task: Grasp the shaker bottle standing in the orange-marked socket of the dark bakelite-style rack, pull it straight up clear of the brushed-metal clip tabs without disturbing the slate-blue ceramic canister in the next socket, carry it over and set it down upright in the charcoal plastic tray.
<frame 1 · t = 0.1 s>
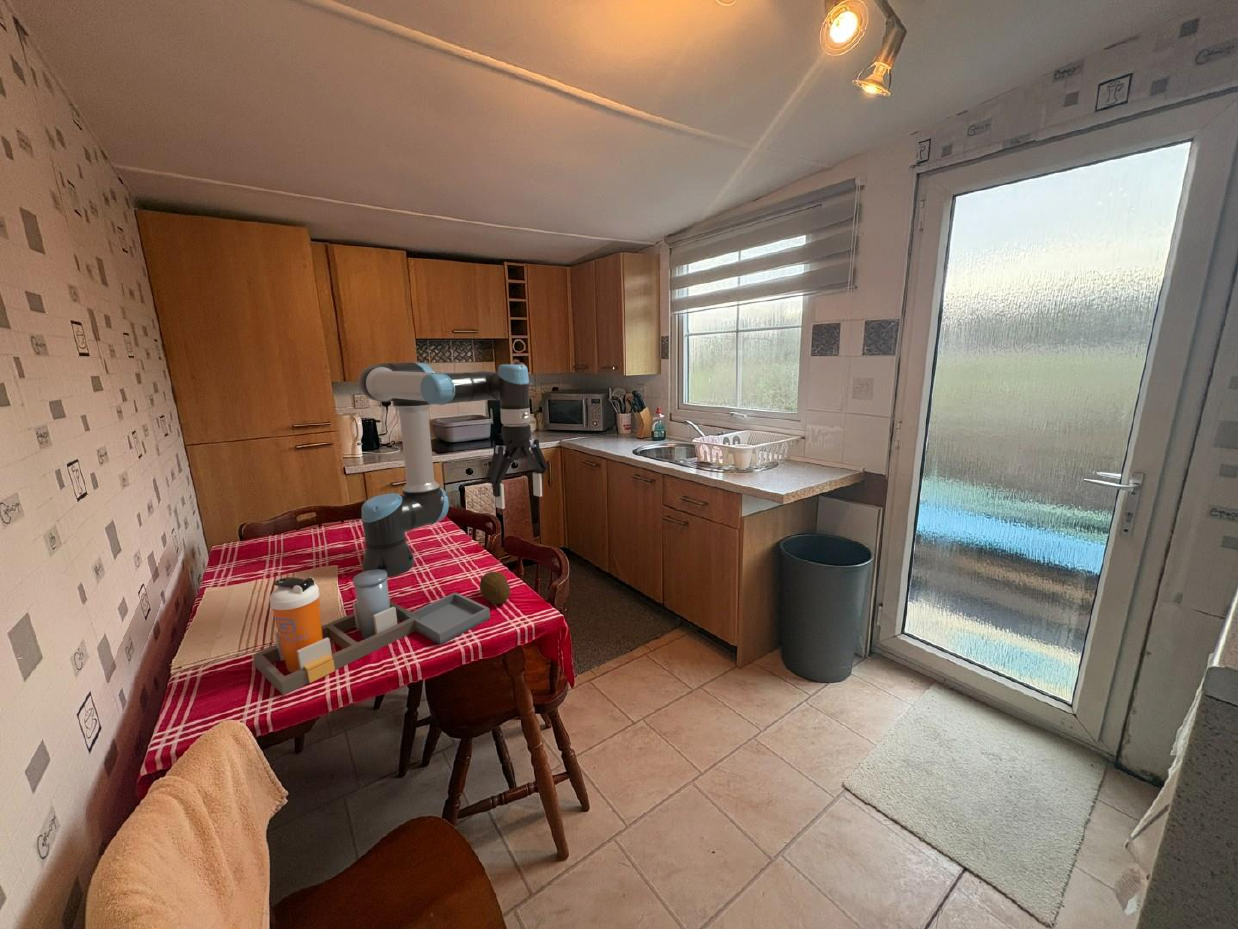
hand: (519, 501, 131), 28 cm above the table, fingers open, 13 cm apart
canister: (377, 630, 119), resting in rack
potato: (495, 599, 135), on the table
shaker bottle: (306, 664, 107), resting in rack
rack: (343, 646, 113), on the table
tray: (448, 622, 123), on the table
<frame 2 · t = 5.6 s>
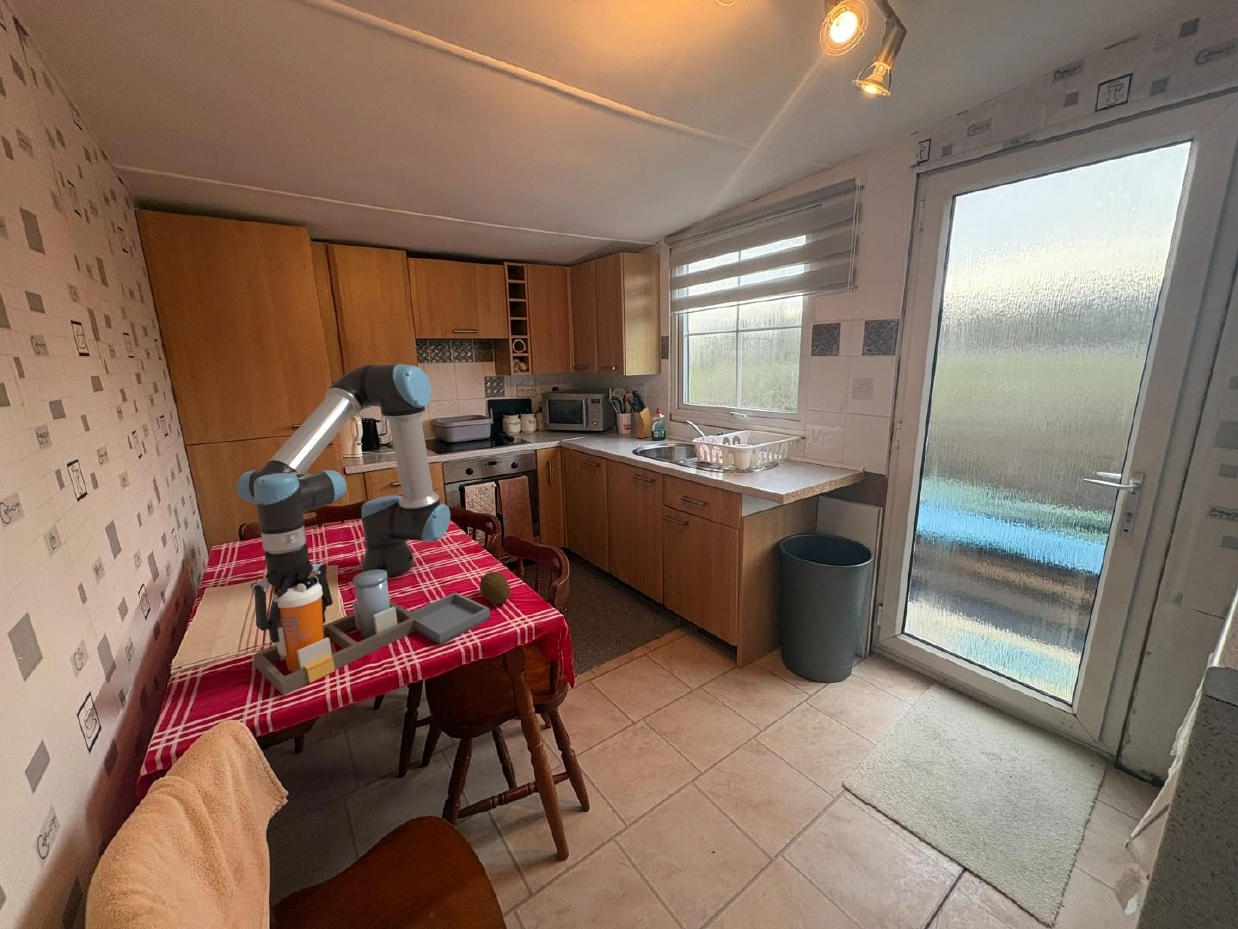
hand: (301, 645, 106), 5 cm above the table, fingers open, 6 cm apart
shaker bottle: (306, 663, 107), resting in rack, touching gripper, hand
everything else where it was.
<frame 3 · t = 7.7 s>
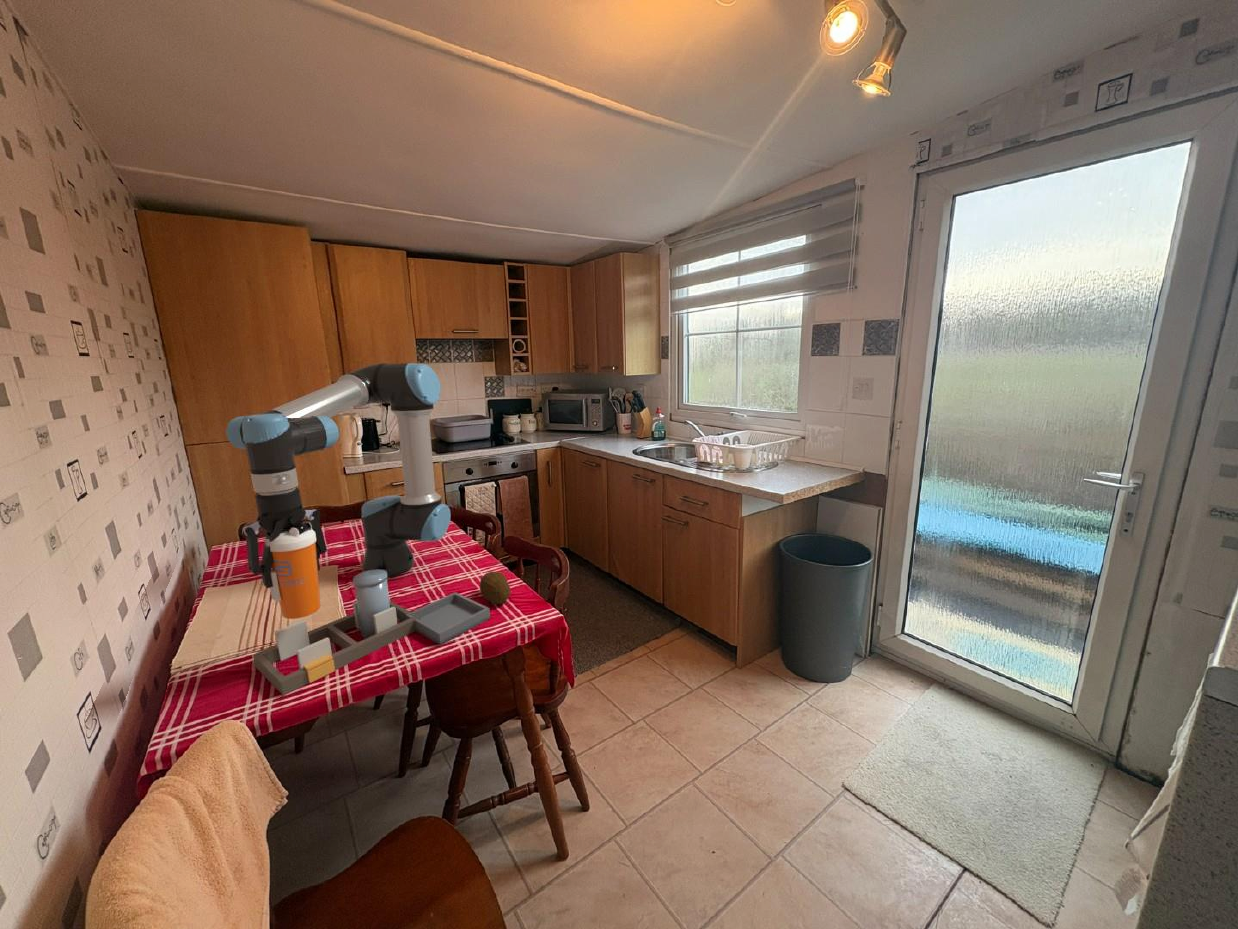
hand: (295, 592, 103), 17 cm above the table
shaker bottle: (301, 611, 105), point 12 cm above the table, touching gripper, hand
everything else where it was.
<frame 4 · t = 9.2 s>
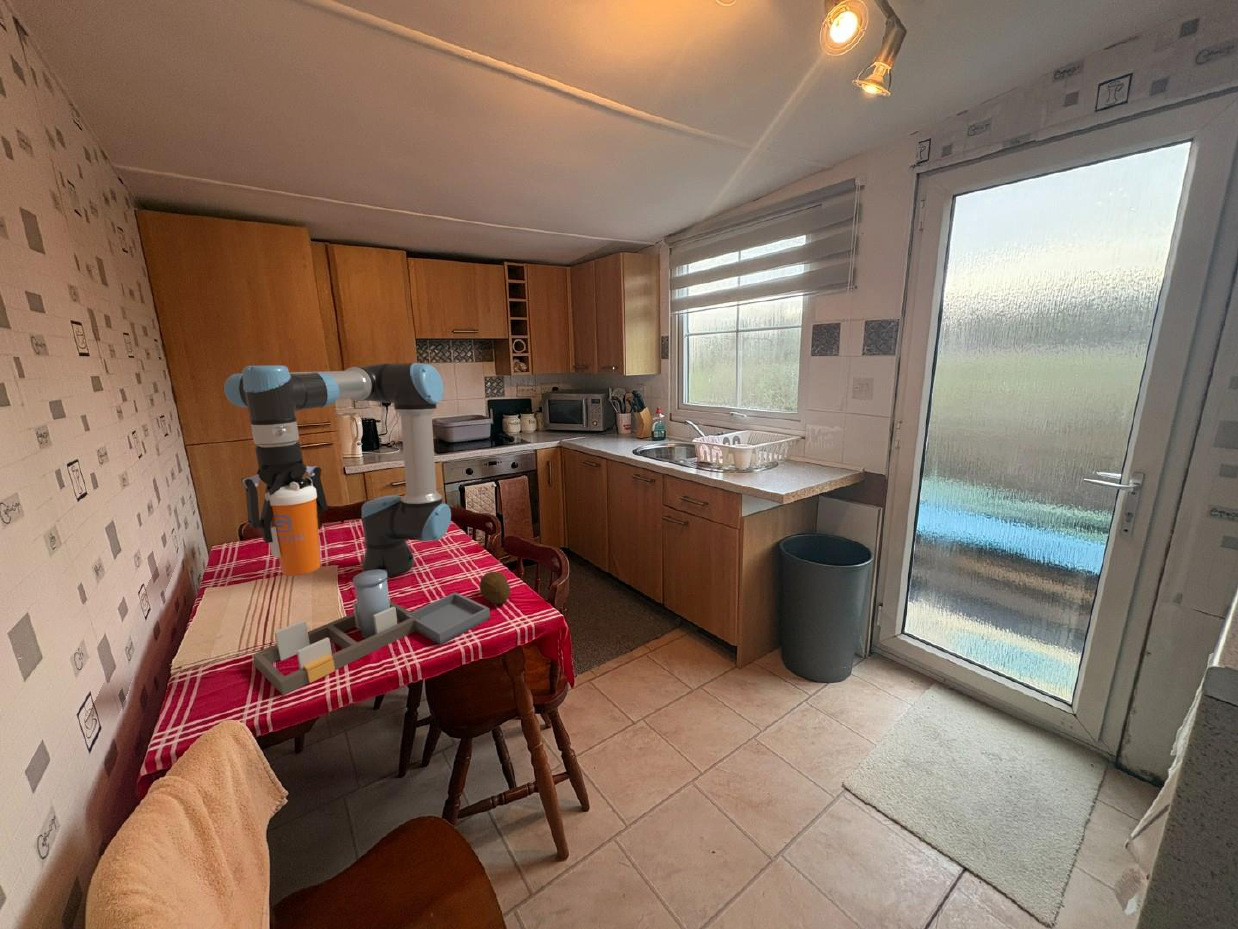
hand: (295, 549, 102), 27 cm above the table
shaker bottle: (301, 569, 103), point 22 cm above the table, touching gripper, hand
everything else where it was.
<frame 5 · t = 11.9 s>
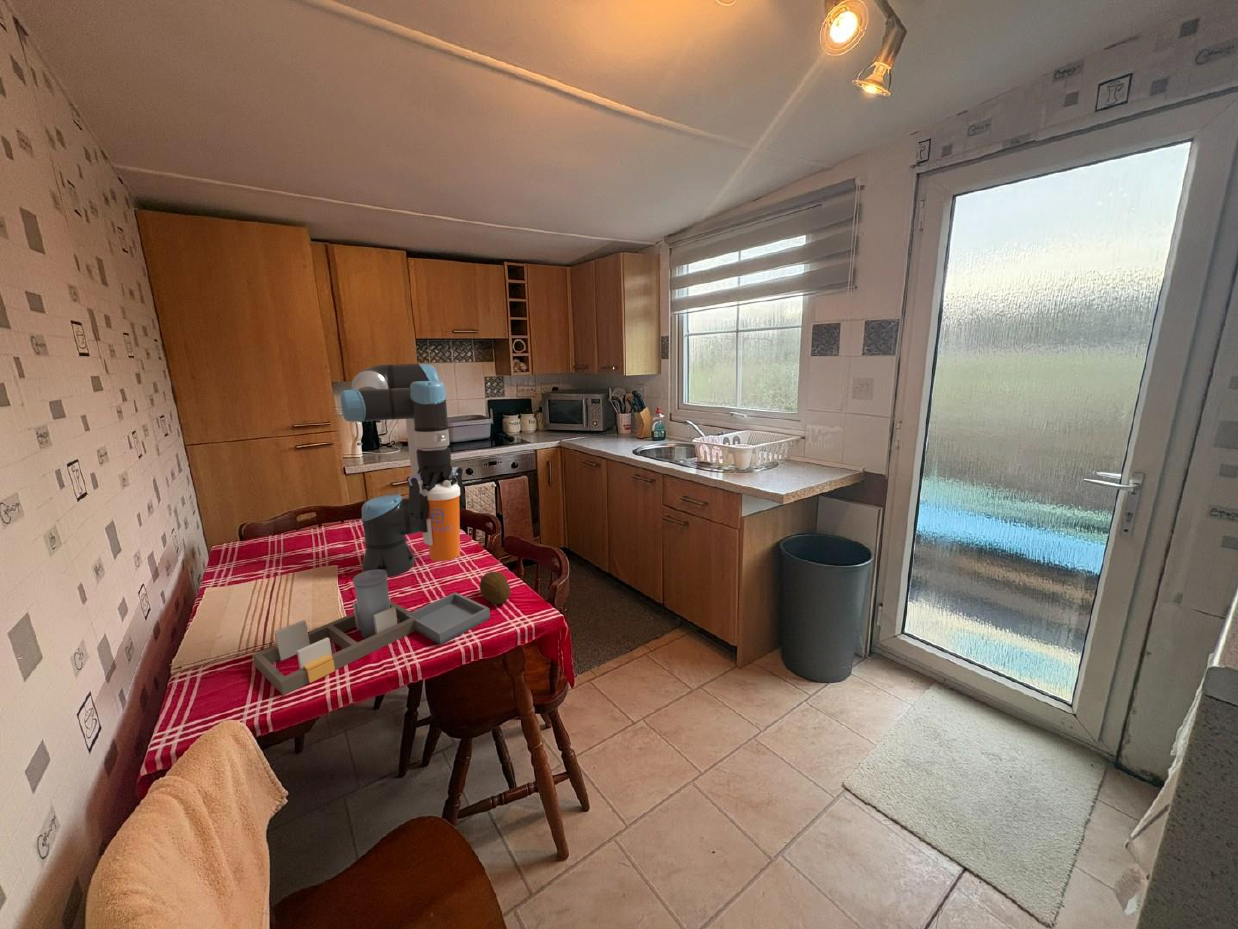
hand: (441, 539, 118), 23 cm above the table
shaker bottle: (445, 556, 120), point 18 cm above the table, touching gripper, hand
everything else where it was.
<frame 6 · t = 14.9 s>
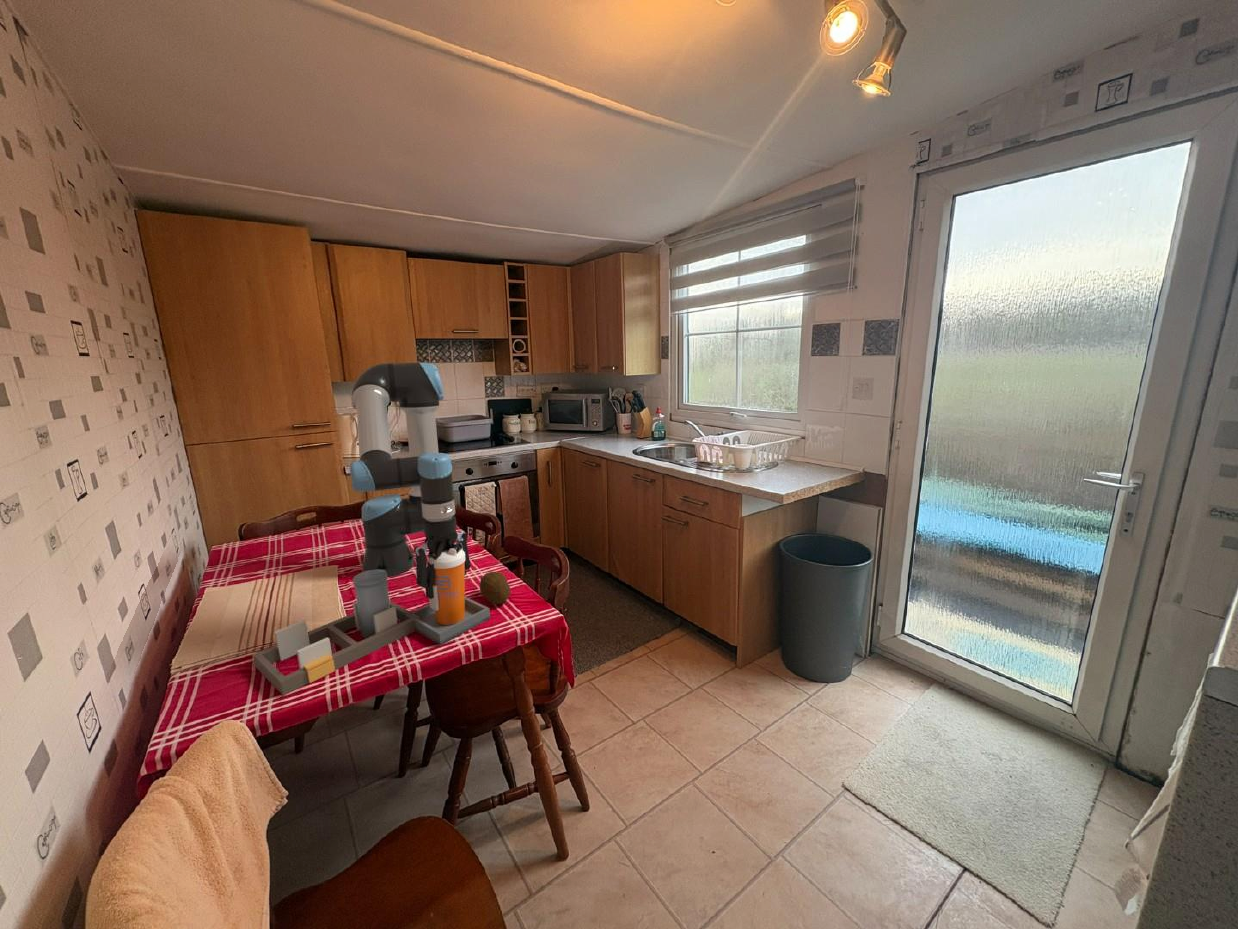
hand: (447, 602, 122), 5 cm above the table, fingers open, 6 cm apart
shaker bottle: (450, 618, 124), point 1 cm above the table, touching gripper, hand, tray
everything else where it was.
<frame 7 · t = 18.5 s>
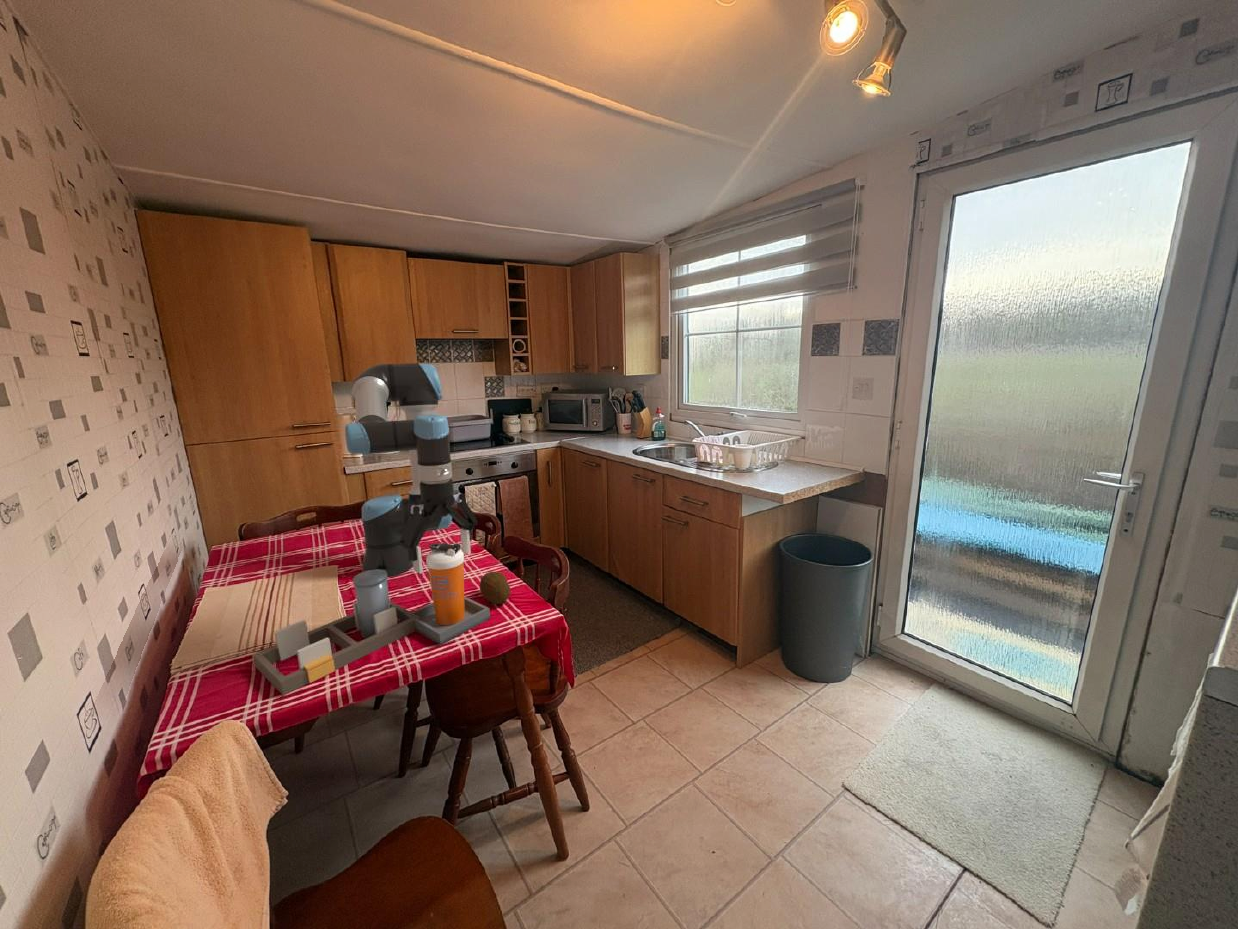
hand: (443, 562, 120), 17 cm above the table, fingers open, 13 cm apart
shaker bottle: (450, 619, 124), point 1 cm above the table, touching tray
everything else where it was.
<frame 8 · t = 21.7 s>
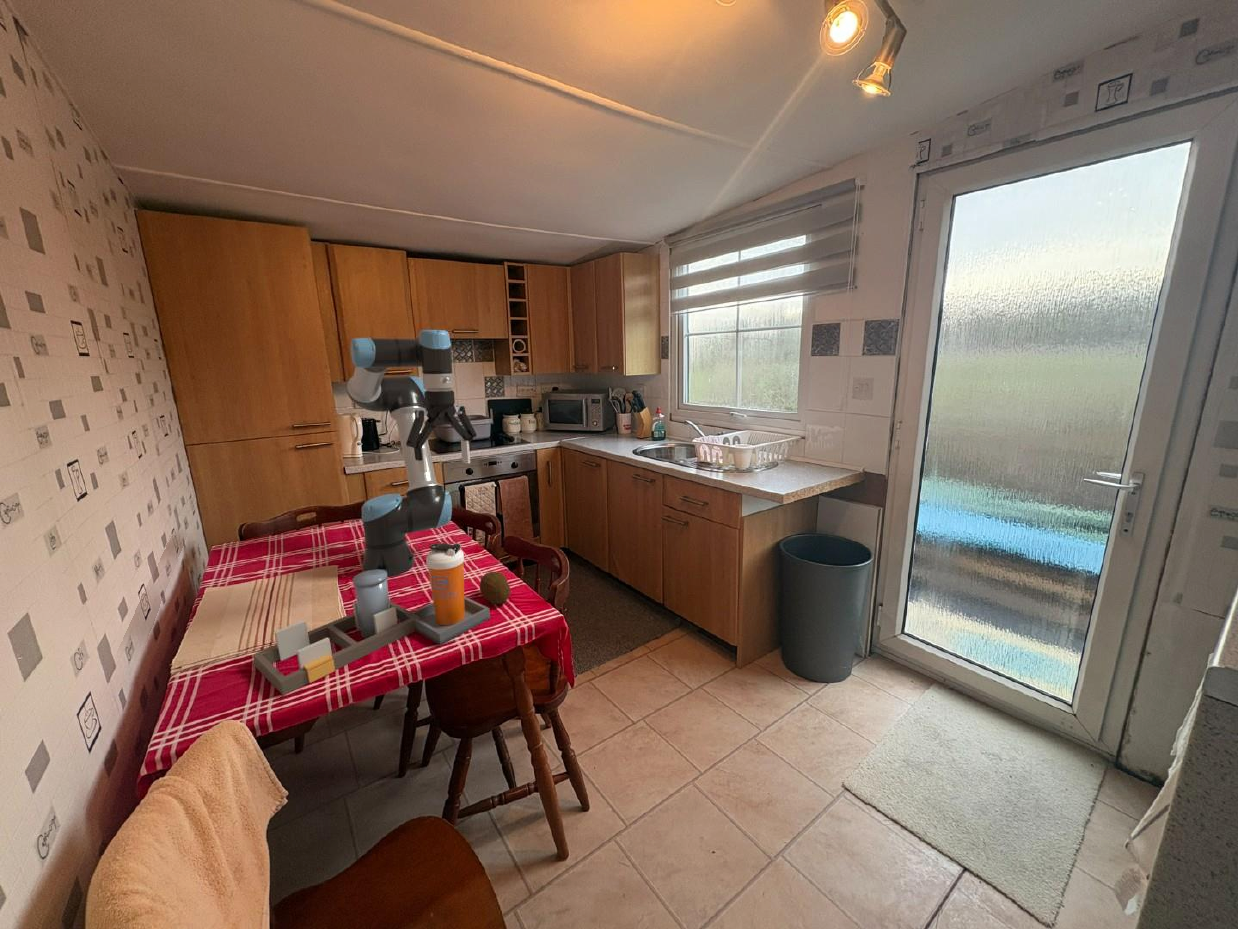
hand: (445, 467, 133), 37 cm above the table, fingers open, 13 cm apart
nothing on the table moved.
at the end: shaker bottle inside the target area on the tray (0.6 cm from its centre), point 0.6 cm above the tray's base; shaker bottle tilted 0°; canister moved 0.0 cm from its start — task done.
